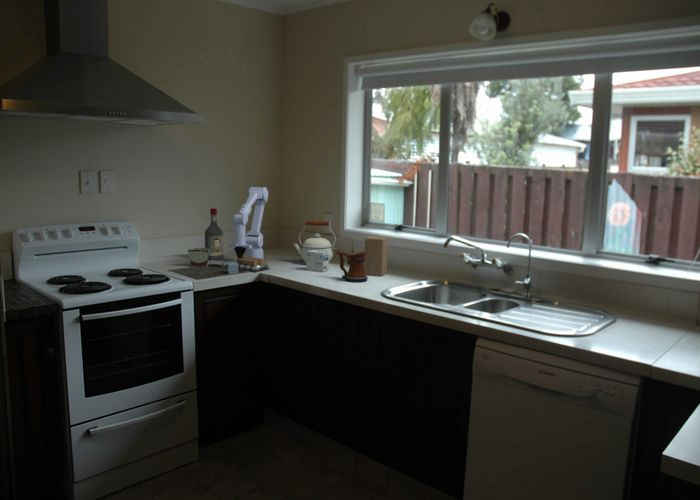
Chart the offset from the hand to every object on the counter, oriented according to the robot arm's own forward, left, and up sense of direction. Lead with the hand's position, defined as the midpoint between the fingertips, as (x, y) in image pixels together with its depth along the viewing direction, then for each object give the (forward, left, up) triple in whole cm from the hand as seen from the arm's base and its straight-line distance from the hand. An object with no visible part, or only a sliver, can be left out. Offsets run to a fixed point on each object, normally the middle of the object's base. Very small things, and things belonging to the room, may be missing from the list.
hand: (240, 260), depth 324 cm
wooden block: (-28, +69, -4) cm, 75 cm away
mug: (-8, +65, -4) cm, 66 cm away
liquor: (-12, -30, -4) cm, 32 cm away
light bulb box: (-19, +38, -4) cm, 43 cm away
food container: (+9, -21, -4) cm, 23 cm away
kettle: (-36, +25, -4) cm, 44 cm away
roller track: (0, +3, -4) cm, 5 cm away
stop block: (+11, +4, -2) cm, 12 cm away
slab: (-1, +7, -1) cm, 7 cm away
